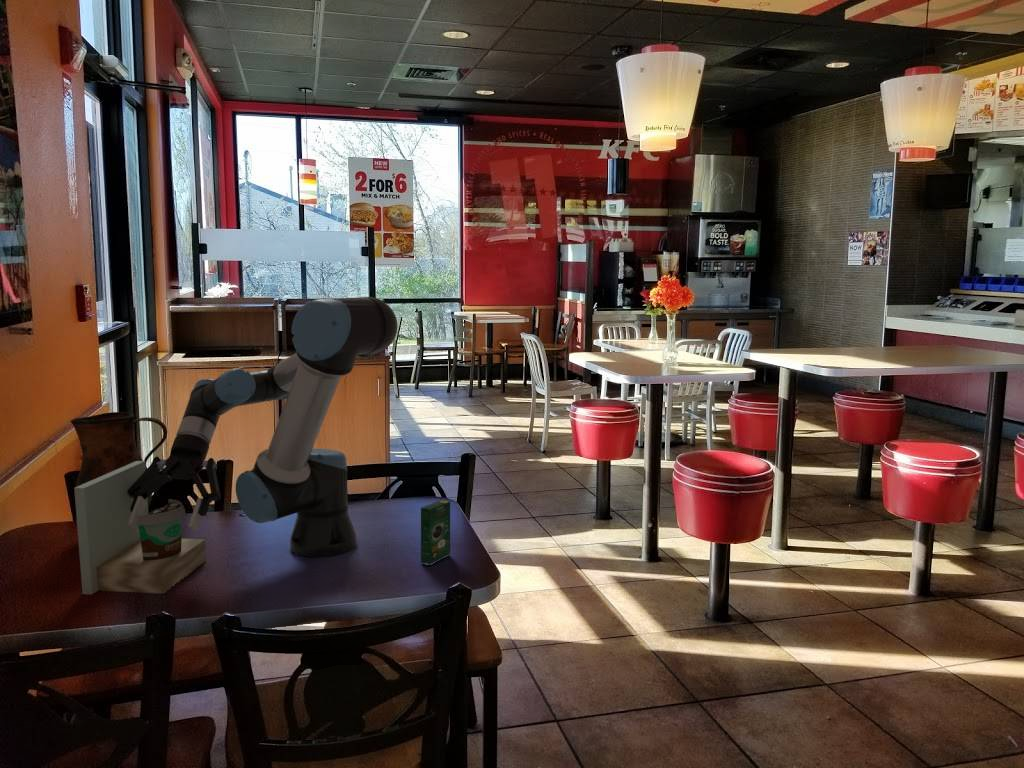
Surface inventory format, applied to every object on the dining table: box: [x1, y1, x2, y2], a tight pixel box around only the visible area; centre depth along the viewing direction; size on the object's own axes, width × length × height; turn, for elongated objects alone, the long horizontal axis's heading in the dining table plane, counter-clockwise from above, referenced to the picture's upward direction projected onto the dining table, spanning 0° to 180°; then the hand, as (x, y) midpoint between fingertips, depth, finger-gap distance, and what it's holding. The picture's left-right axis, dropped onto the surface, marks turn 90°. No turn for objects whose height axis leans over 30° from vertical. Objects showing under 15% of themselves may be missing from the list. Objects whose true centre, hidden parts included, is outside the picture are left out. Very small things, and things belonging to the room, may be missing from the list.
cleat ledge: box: [96, 538, 207, 594], centre depth 170 cm, size 14×18×5 cm
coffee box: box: [420, 499, 451, 564], centre depth 179 cm, size 8×3×13 cm, turn 149°
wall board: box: [73, 460, 150, 595], centre depth 169 cm, size 2×22×22 cm, turn 174°
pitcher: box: [70, 411, 168, 507], centre depth 192 cm, size 17×21×30 cm
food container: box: [136, 498, 186, 560], centre depth 168 cm, size 12×6×10 cm, turn 172°
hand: (162, 527), depth 167 cm, fingers open, 12 cm apart
